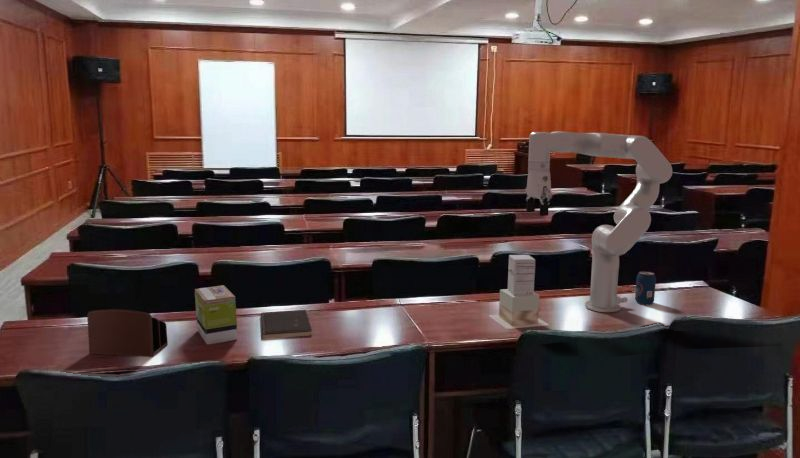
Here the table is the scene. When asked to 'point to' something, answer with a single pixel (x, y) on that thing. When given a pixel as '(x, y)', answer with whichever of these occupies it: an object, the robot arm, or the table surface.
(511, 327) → the base board
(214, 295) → the tea box
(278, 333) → the hardcover book
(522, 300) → the upper block
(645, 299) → the soda can
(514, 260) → the supplement box
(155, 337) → the letter holder
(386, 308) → the table surface
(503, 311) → the lower block
